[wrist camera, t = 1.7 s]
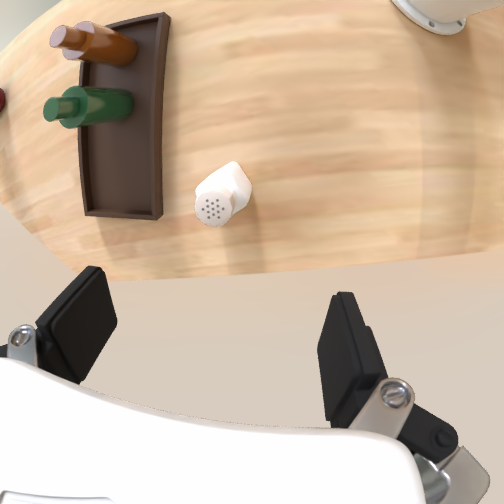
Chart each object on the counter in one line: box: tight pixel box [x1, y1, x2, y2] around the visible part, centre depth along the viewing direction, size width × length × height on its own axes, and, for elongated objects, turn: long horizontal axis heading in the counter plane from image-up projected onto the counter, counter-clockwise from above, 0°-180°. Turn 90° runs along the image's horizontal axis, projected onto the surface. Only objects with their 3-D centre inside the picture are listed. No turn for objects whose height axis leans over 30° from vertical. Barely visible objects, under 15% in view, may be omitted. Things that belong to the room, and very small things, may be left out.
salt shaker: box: [194, 161, 252, 227], centre depth 26 cm, size 4×4×10 cm
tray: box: [78, 12, 170, 220], centre depth 26 cm, size 25×11×2 cm, turn 176°
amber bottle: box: [50, 21, 138, 68], centre depth 17 cm, size 4×4×12 cm
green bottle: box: [43, 86, 134, 129], centre depth 21 cm, size 4×4×12 cm
